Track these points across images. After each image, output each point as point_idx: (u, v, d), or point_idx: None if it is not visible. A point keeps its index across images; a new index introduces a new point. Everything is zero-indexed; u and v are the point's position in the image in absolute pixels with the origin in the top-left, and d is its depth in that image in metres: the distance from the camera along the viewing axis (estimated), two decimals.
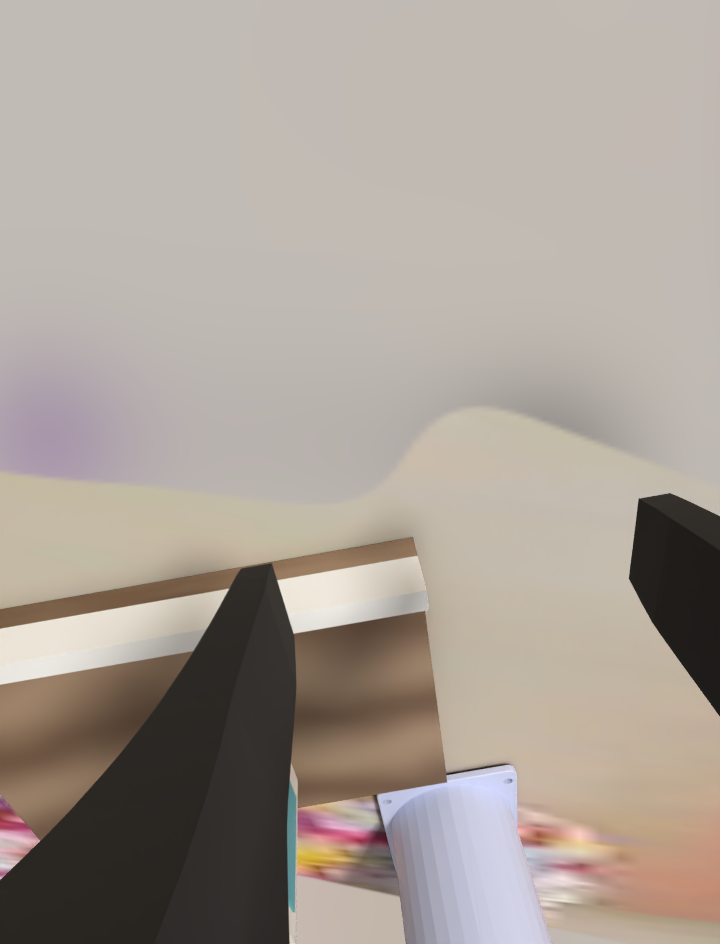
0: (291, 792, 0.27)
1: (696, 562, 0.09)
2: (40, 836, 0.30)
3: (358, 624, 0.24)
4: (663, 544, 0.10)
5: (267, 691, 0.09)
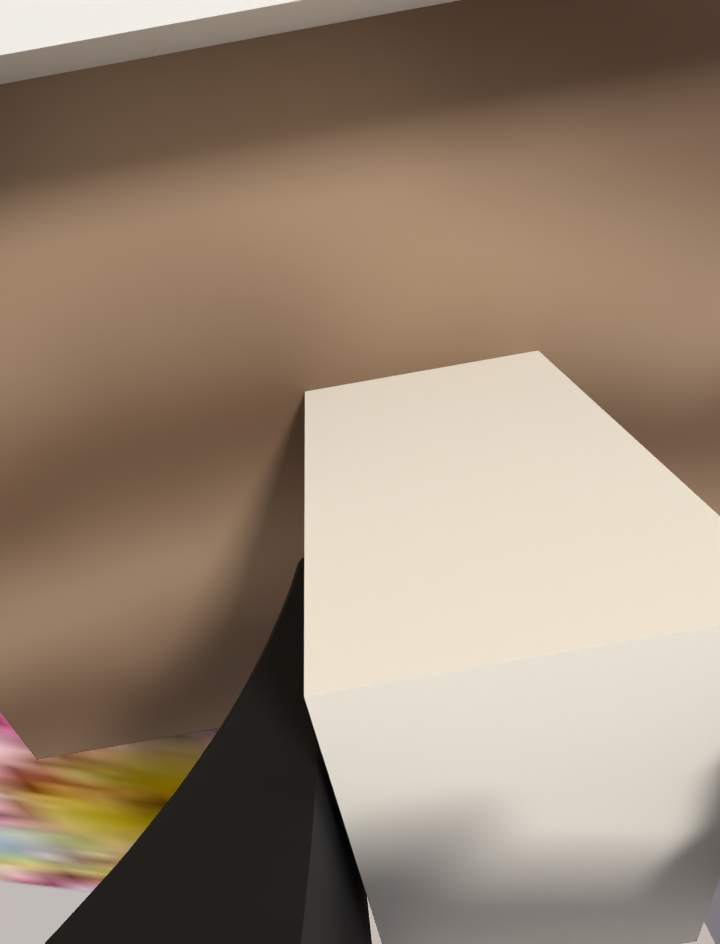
0: None
1: None
2: (19, 727, 0.15)
3: None
4: None
5: None
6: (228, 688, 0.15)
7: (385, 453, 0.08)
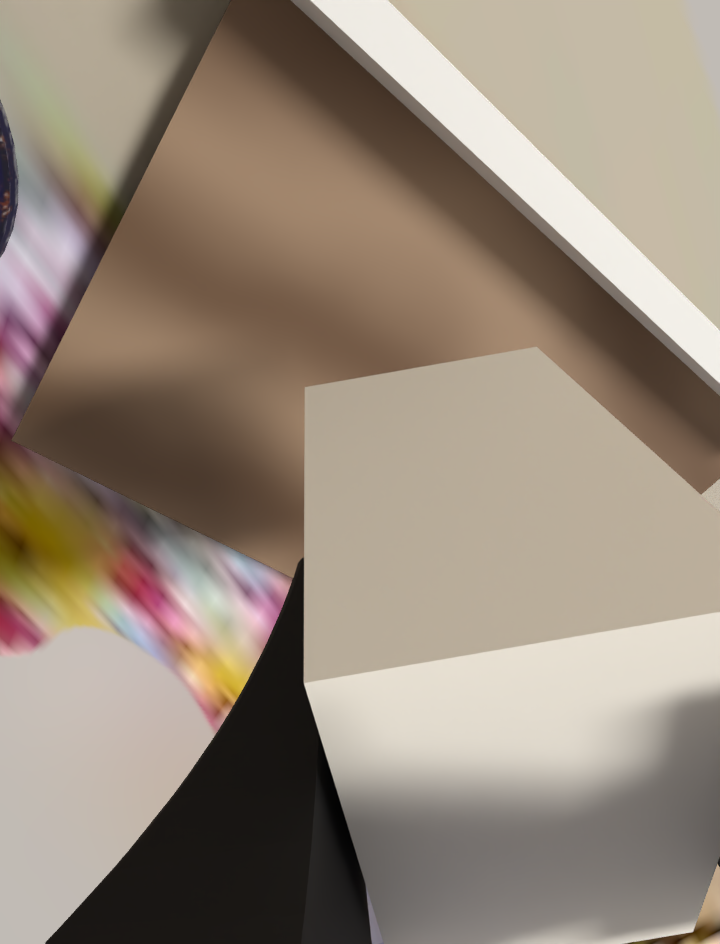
0: None
1: None
2: (33, 409, 0.18)
3: (672, 442, 0.21)
4: None
5: None
6: (197, 491, 0.20)
7: (384, 447, 0.09)
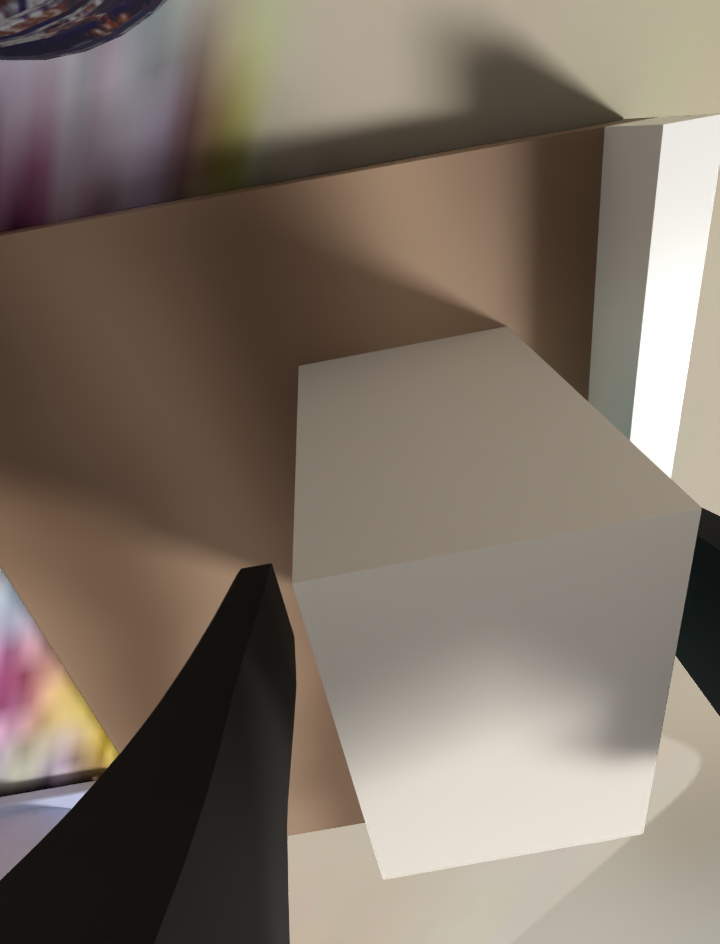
0: None
1: (696, 562, 0.09)
2: None
3: None
4: None
5: (267, 691, 0.09)
6: (35, 511, 0.14)
7: (366, 412, 0.10)
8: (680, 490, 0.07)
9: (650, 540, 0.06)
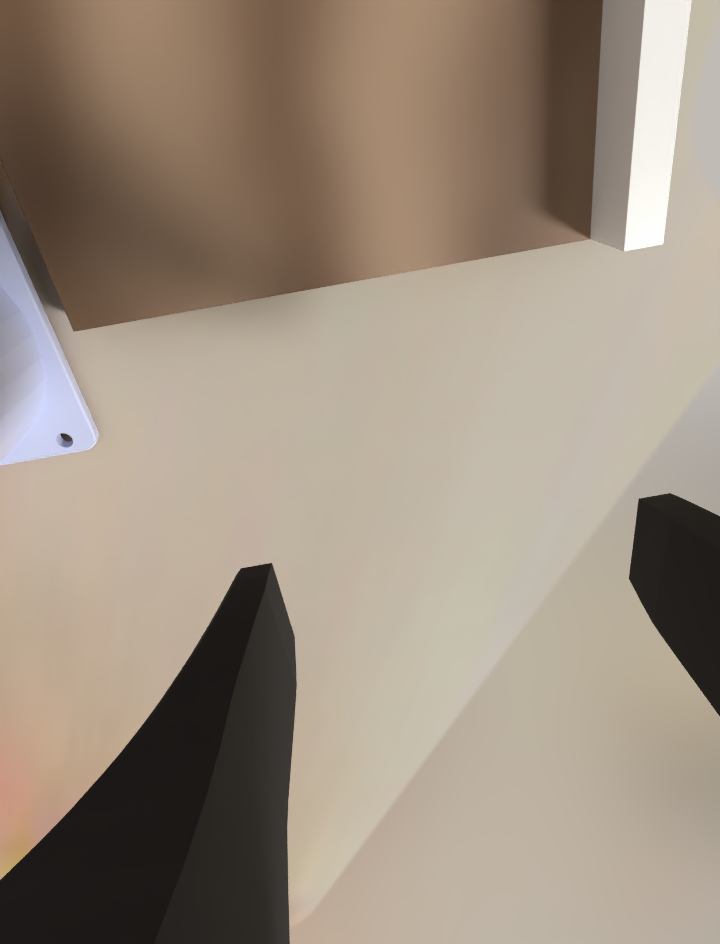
0: None
1: (696, 562, 0.09)
2: None
3: (513, 136, 0.15)
4: (663, 544, 0.10)
5: (267, 691, 0.09)
6: None
7: None
8: None
9: None
